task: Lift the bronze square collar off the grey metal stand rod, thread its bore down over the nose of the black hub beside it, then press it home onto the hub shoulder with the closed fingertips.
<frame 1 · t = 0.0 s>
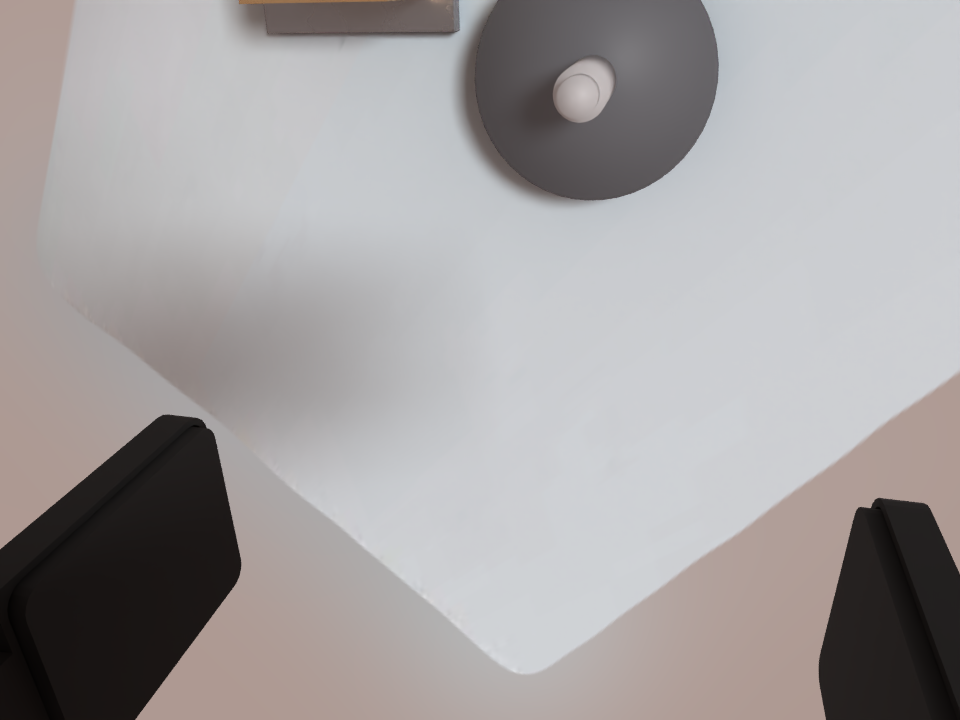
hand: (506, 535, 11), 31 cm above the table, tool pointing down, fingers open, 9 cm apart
hub: (598, 73, 37), on the table
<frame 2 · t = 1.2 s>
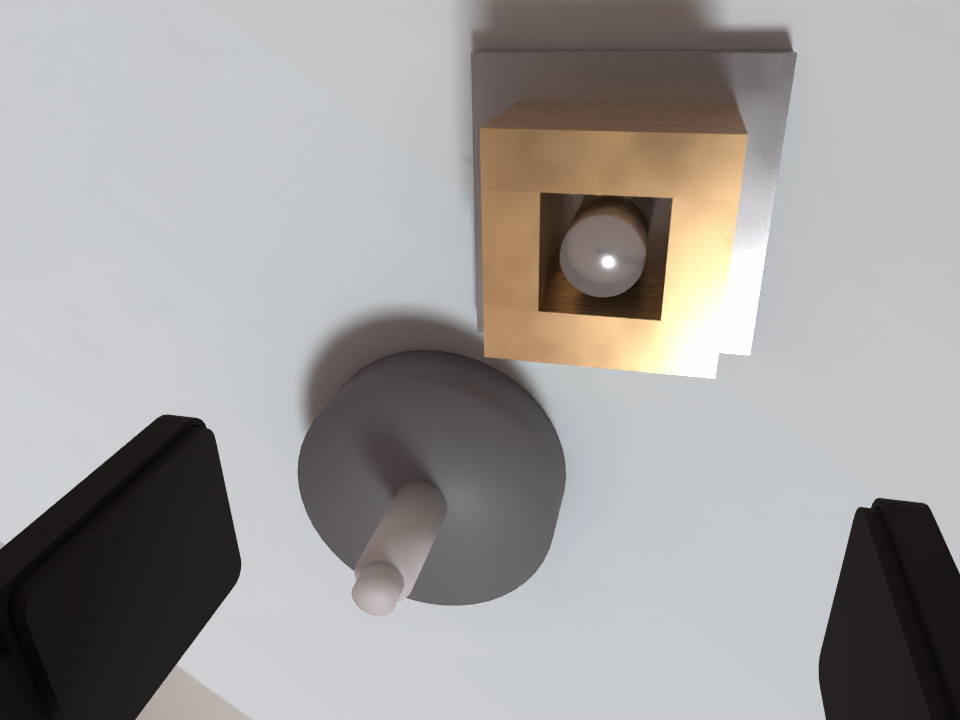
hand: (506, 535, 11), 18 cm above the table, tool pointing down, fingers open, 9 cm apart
collar: (616, 210, 26), point 1 cm above the table, touching stand
stand: (618, 202, 27), on the table
hub: (442, 462, 34), on the table
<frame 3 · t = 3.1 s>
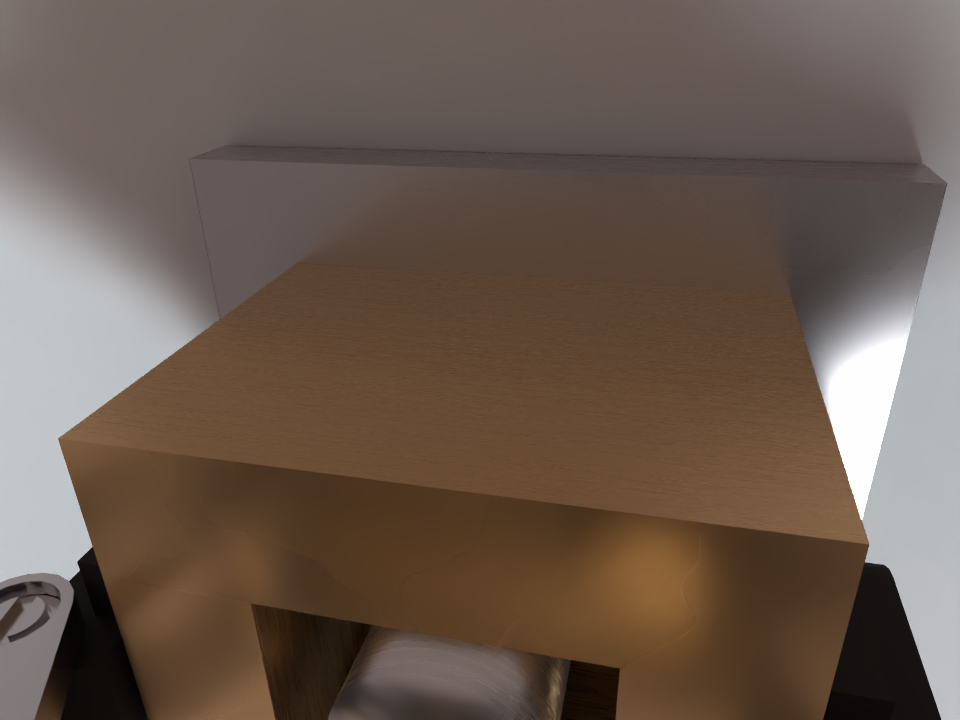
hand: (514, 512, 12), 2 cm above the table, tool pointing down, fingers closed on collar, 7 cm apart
collar: (524, 482, 12), point 1 cm above the table, touching gripper, stand
stand: (535, 448, 13), on the table
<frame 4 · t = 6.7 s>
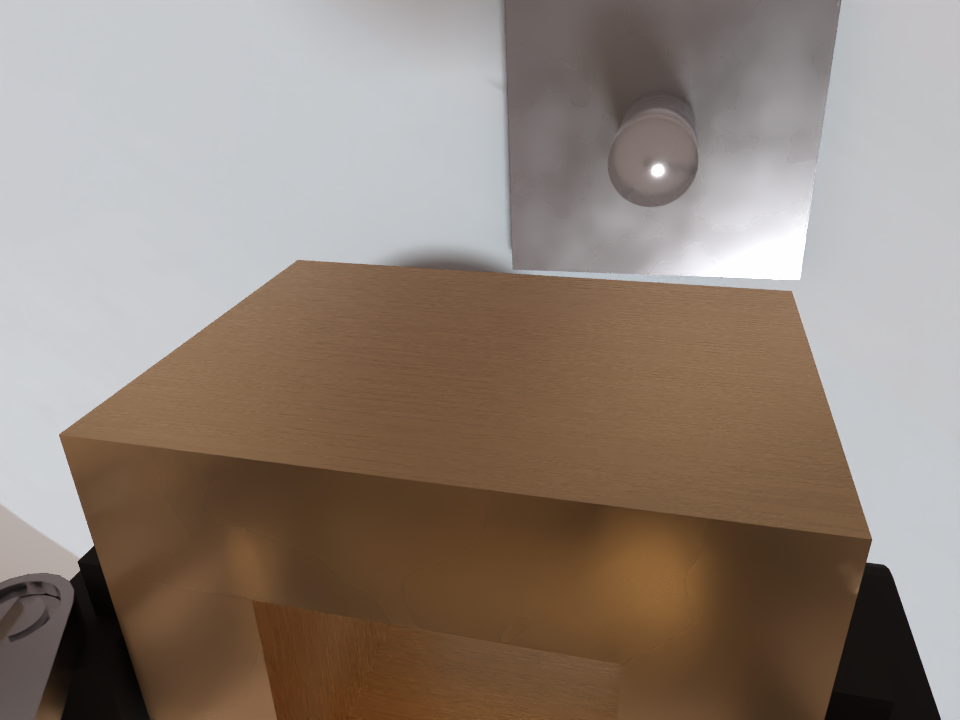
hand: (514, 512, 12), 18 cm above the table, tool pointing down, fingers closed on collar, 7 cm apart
collar: (525, 479, 12), point 17 cm above the table, touching gripper
stand: (659, 125, 26), on the table
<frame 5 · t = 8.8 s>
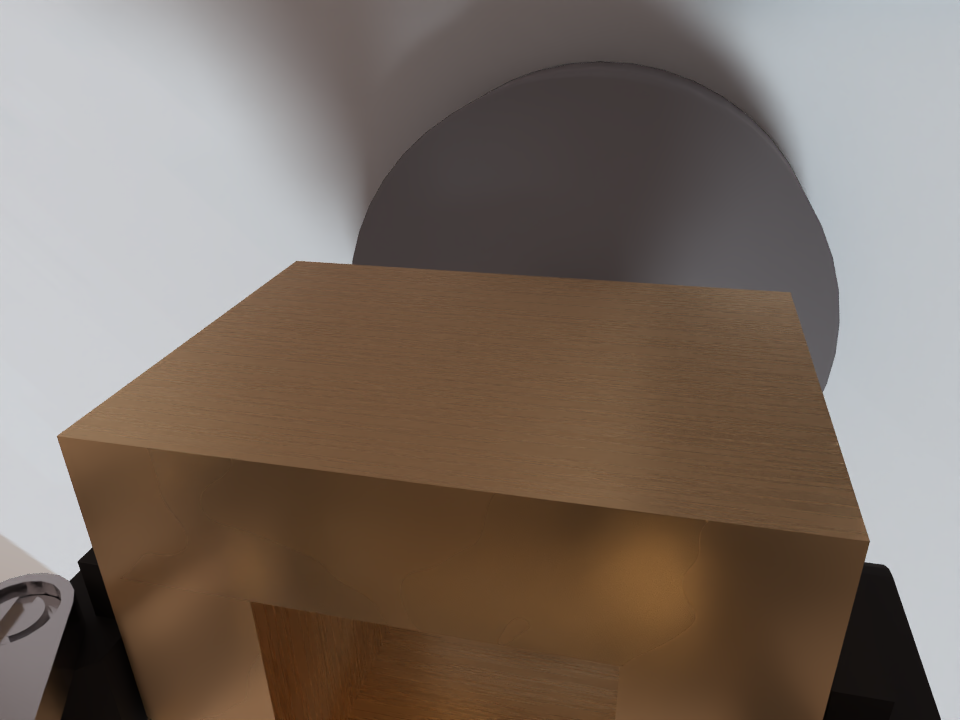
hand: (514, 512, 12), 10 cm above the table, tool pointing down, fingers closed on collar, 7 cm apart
collar: (524, 480, 12), point 9 cm above the table, touching gripper
hub: (591, 285, 20), on the table
when the fingers open (5 cm above the table, at t = 10.3 s): collar stays where it is, resting on hub.
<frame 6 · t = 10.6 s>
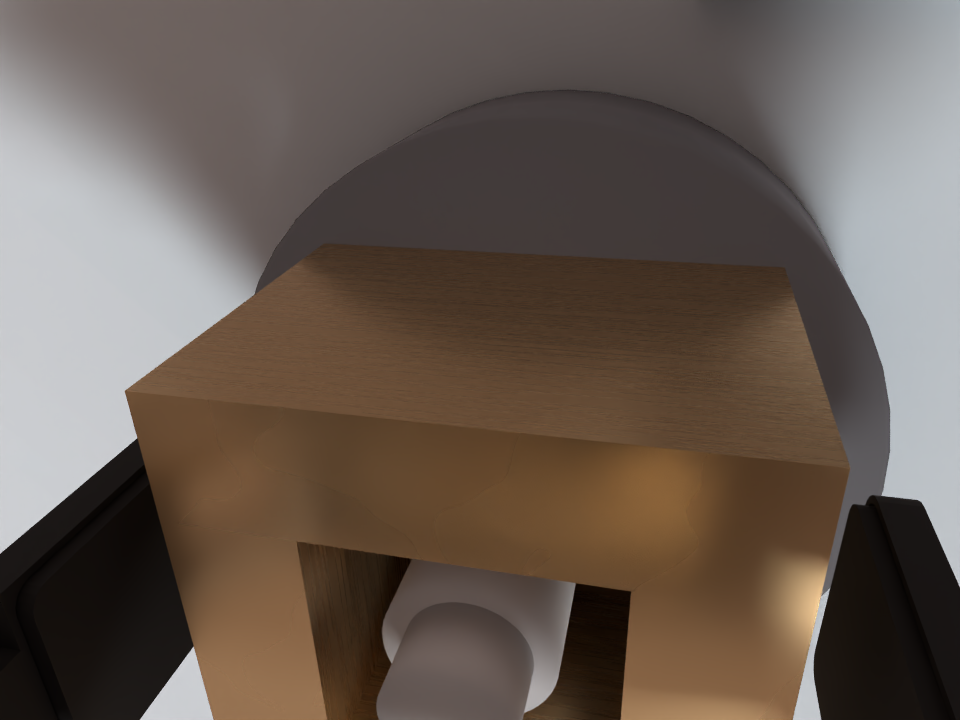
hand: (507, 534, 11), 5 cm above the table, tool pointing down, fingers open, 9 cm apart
collar: (537, 449, 13), point 3 cm above the table, touching hub
hub: (559, 370, 16), on the table
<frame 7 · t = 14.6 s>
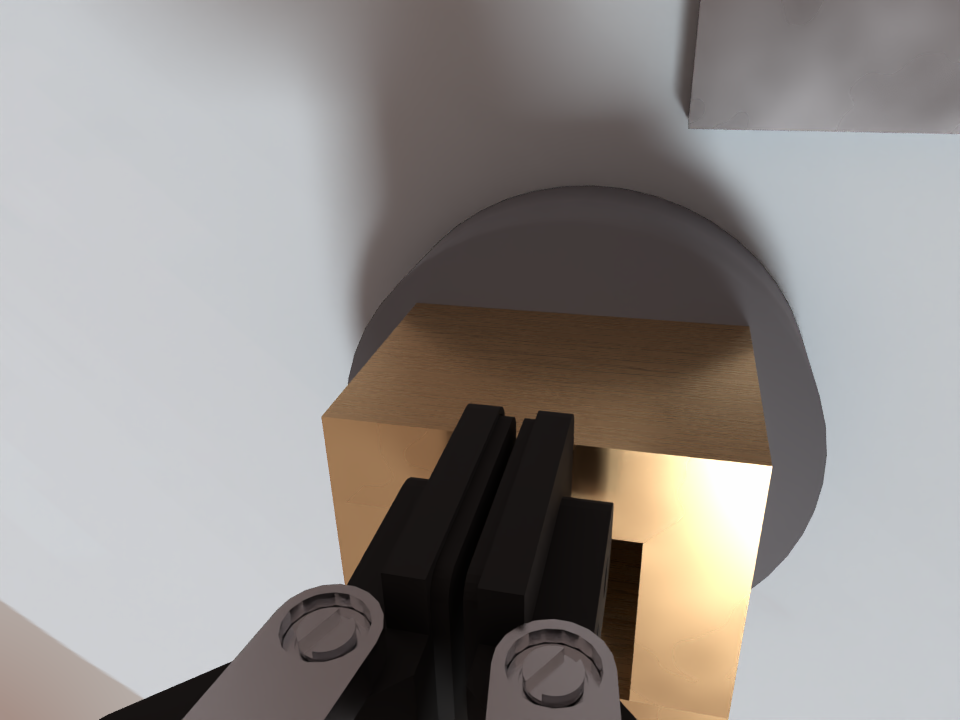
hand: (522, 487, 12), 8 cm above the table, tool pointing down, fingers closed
collar: (570, 453, 18), point 3 cm above the table, touching gripper, hub
hub: (584, 391, 20), on the table
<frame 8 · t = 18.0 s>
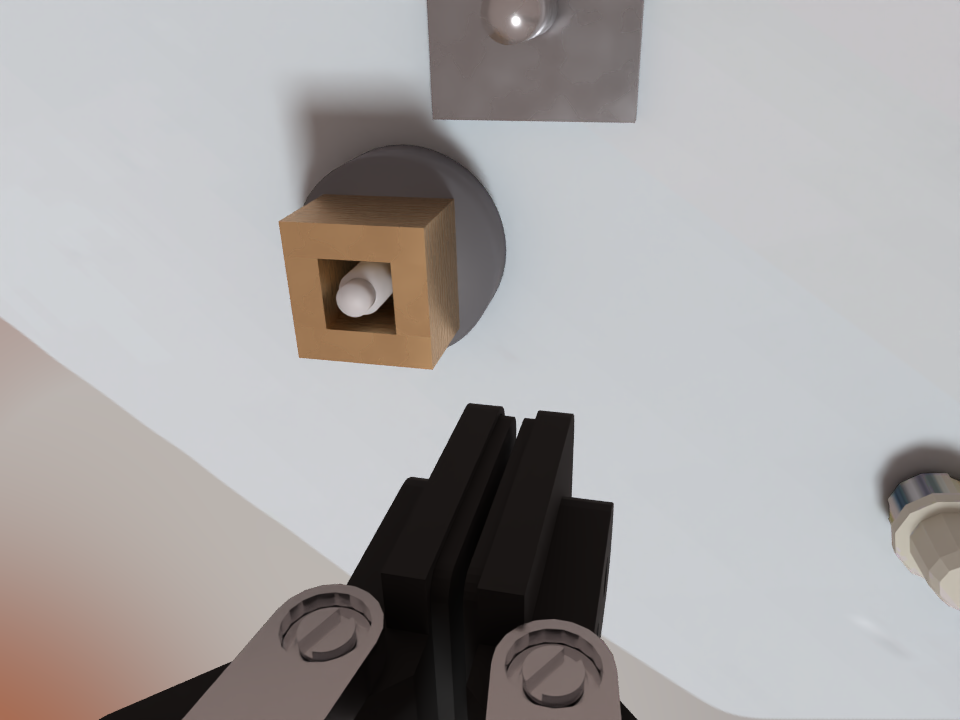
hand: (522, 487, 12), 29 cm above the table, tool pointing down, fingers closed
collar: (393, 262, 40), point 3 cm above the table, touching hub
stand: (535, 7, 36), on the table
hub: (410, 244, 43), on the table
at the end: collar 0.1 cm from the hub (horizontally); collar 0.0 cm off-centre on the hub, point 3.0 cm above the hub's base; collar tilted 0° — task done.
